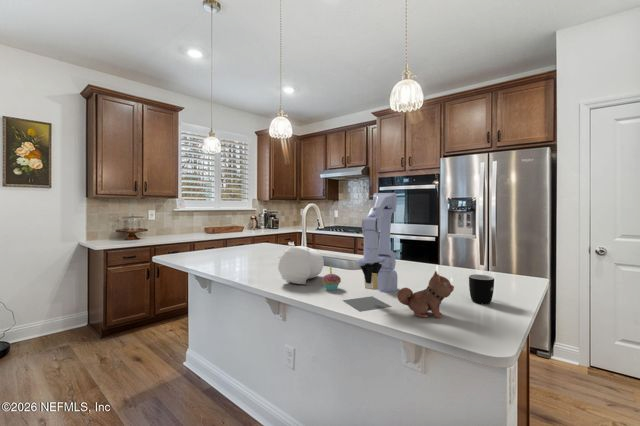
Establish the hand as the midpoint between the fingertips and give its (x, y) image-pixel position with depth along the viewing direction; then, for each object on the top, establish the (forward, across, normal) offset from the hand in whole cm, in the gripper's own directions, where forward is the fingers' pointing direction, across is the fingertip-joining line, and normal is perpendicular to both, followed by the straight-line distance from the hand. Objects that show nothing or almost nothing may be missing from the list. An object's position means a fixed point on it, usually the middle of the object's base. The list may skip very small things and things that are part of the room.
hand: (370, 282), depth 123 cm
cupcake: (+9, 0, -25) cm, 26 cm away
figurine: (+9, -8, +19) cm, 23 cm away
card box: (+2, 0, 0) cm, 2 cm away
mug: (+9, -39, +23) cm, 46 cm away
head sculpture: (+9, +2, -49) cm, 50 cm away
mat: (+8, +2, 0) cm, 9 cm away
